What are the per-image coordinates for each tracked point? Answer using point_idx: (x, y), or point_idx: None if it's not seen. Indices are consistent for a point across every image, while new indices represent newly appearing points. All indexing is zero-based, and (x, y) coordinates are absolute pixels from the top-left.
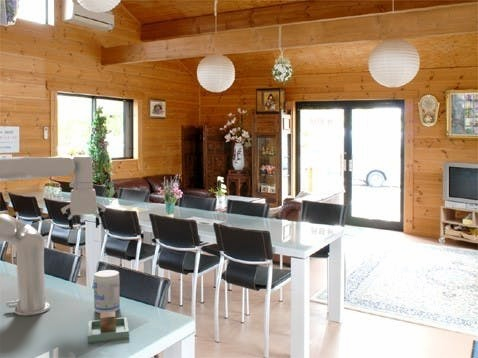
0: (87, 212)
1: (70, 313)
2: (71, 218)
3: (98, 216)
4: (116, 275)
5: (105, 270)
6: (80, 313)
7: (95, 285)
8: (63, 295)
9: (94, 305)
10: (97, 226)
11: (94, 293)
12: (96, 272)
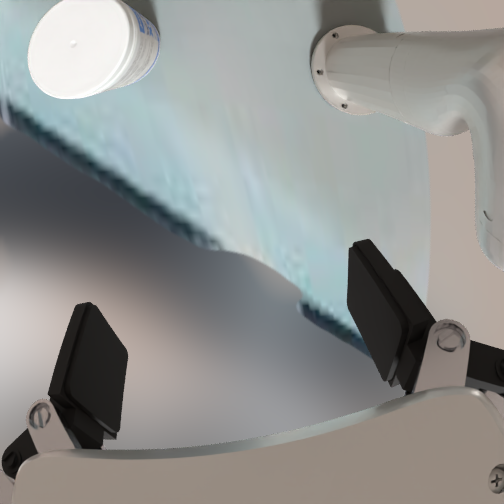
0: (136, 488)
1: (234, 22)
2: (417, 353)
3: (40, 421)
4: (33, 34)
5: (88, 85)
6: (201, 20)
7: (130, 7)
8: (295, 182)
9: (155, 29)
10: (74, 313)
11: (145, 21)
12: (123, 46)
